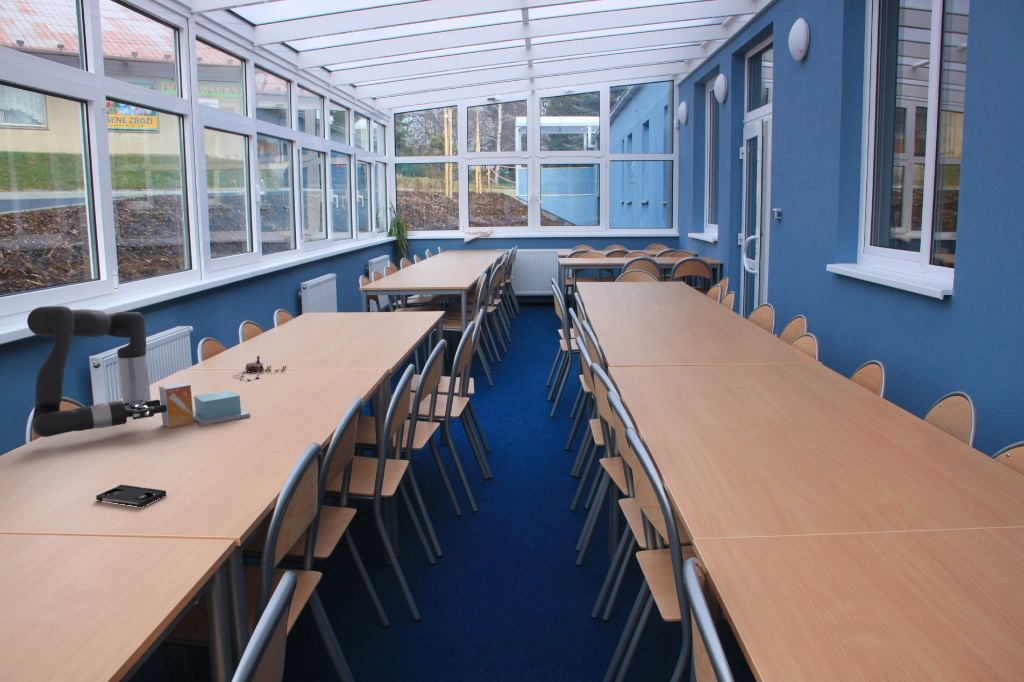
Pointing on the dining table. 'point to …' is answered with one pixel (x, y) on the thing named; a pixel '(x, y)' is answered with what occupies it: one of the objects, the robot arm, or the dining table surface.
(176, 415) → the small box
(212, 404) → the tower base
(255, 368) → the playset
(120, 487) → the vhs tape
